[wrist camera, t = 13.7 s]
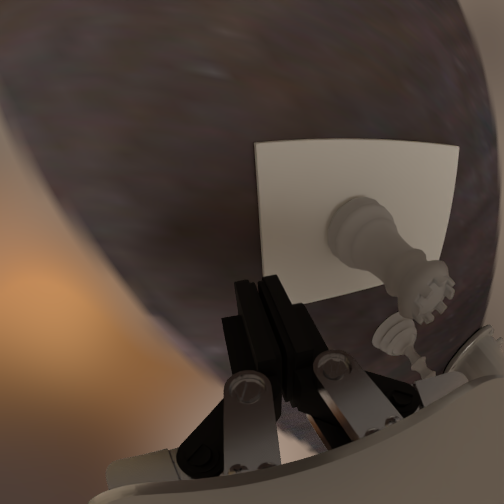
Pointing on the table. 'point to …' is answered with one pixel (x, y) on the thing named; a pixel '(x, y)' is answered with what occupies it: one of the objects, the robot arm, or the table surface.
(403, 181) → the grey mat
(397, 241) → the rook chess piece
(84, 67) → the table surface
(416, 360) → the chalice
